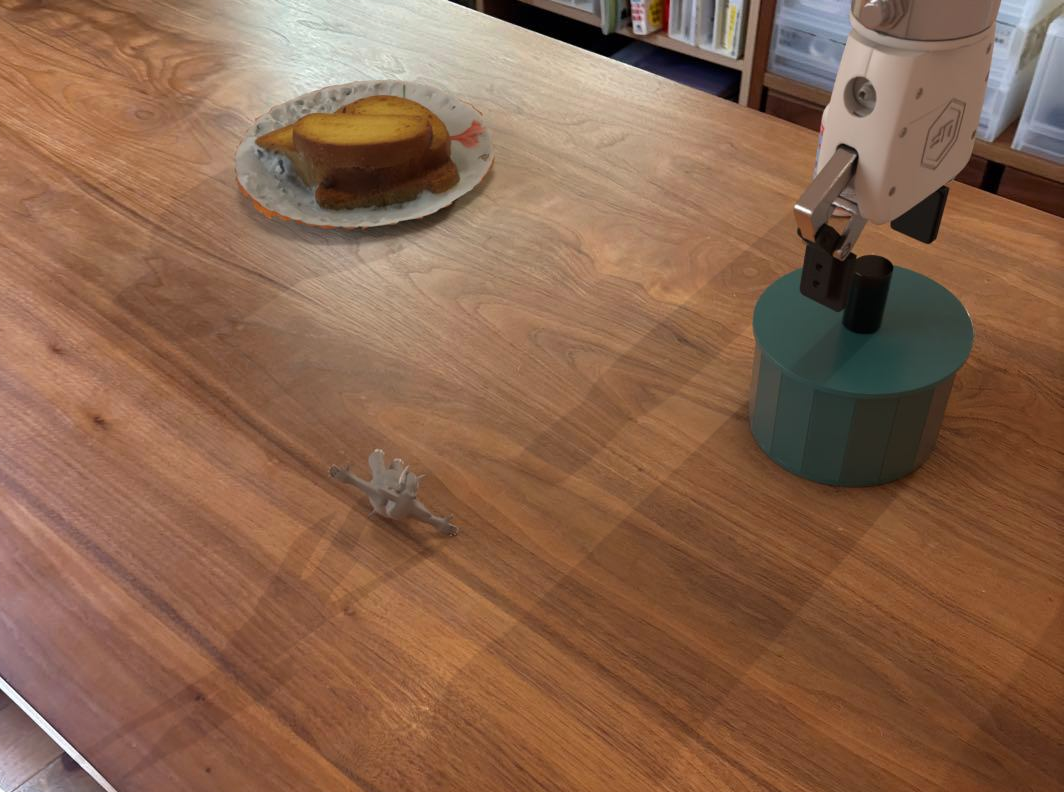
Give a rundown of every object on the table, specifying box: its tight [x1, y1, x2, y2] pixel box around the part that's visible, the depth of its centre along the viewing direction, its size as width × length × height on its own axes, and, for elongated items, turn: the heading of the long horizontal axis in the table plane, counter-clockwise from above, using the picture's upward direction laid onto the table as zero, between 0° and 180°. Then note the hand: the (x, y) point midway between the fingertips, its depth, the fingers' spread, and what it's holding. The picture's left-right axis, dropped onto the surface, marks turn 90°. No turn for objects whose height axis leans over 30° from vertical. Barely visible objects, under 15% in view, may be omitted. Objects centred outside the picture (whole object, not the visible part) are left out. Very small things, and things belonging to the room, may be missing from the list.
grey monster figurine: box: [327, 448, 460, 537], centre depth 76 cm, size 10×6×9 cm
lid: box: [751, 254, 975, 399], centre depth 73 cm, size 14×14×6 cm
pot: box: [747, 342, 957, 488], centre depth 78 cm, size 13×13×8 cm
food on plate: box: [234, 79, 496, 231], centre depth 107 cm, size 26×25×7 cm
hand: (868, 267), depth 71 cm, fingers open, 9 cm apart
